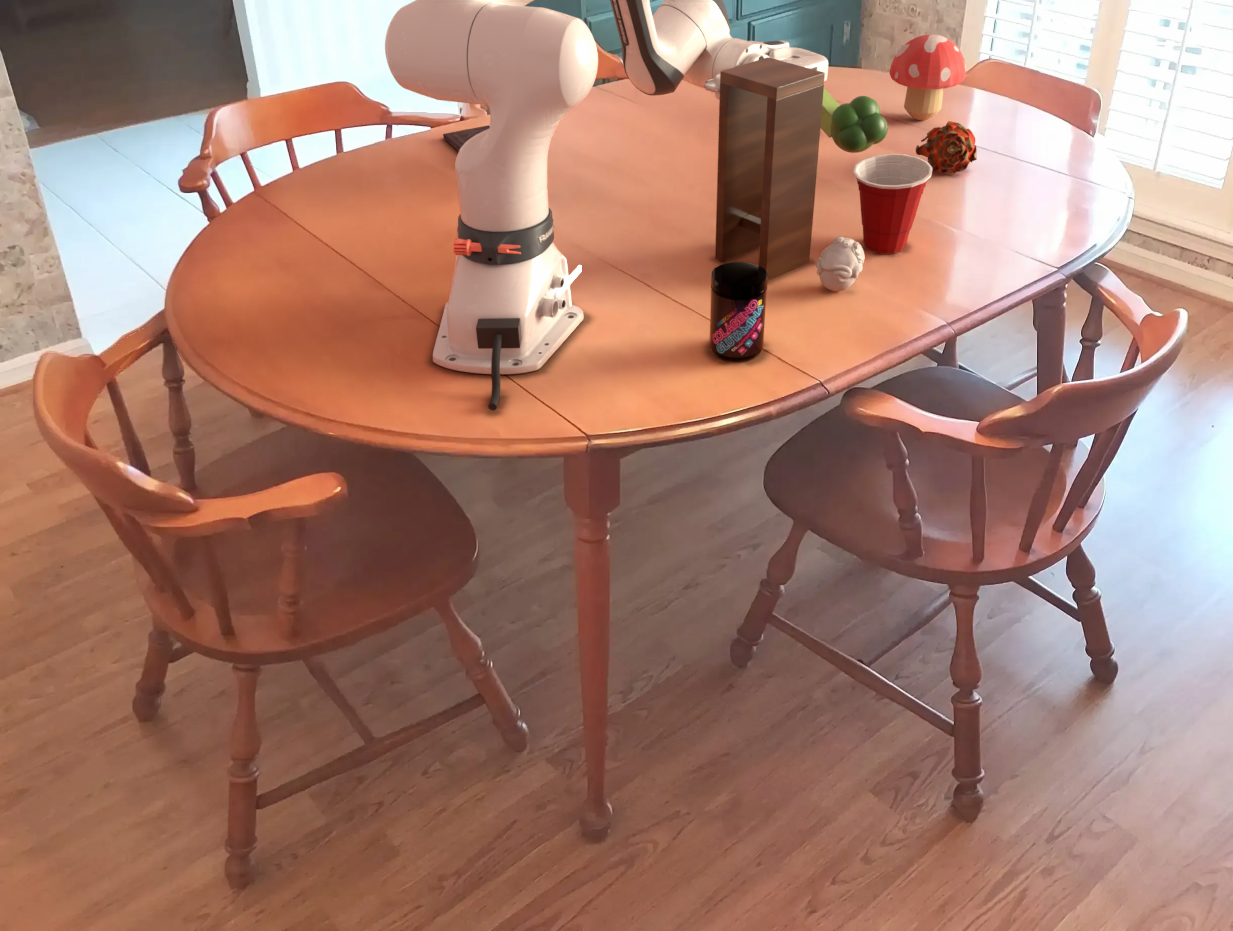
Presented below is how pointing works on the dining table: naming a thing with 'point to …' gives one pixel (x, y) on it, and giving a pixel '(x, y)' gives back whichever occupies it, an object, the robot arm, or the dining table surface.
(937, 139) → the dragon fruit
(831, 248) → the white rounded carved piece
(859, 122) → the broccoli
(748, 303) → the supplement container
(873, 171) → the plastic cup
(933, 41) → the decorative mushroom
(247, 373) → the dining table surface
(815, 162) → the wooden stand
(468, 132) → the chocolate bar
